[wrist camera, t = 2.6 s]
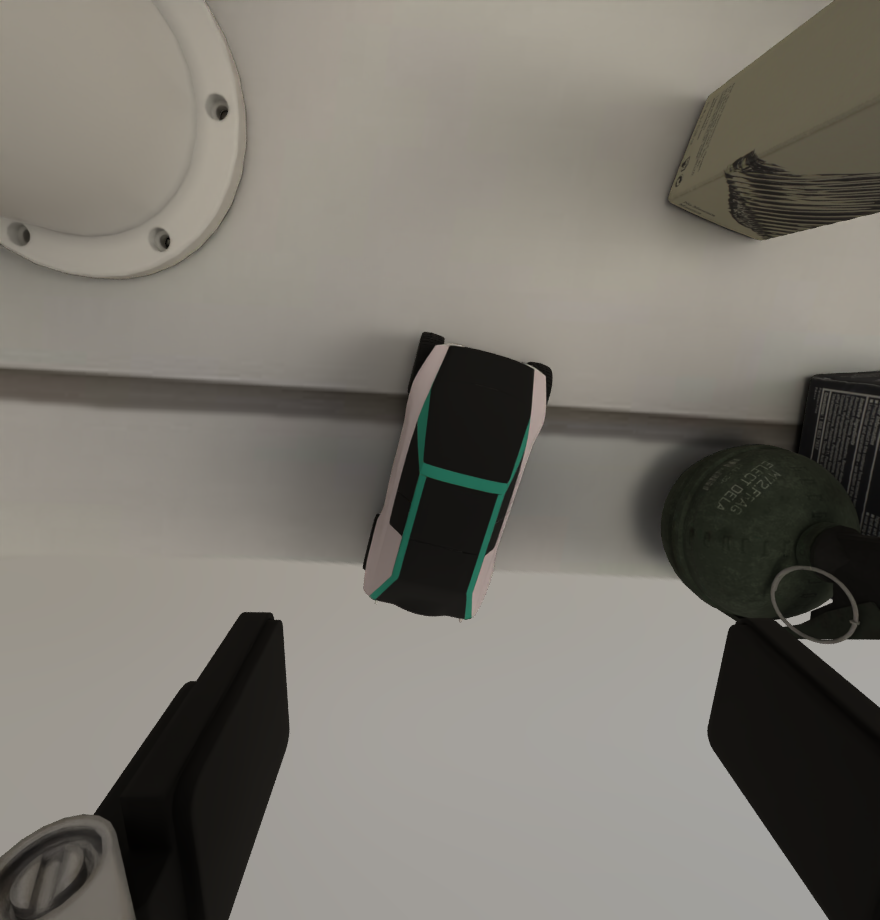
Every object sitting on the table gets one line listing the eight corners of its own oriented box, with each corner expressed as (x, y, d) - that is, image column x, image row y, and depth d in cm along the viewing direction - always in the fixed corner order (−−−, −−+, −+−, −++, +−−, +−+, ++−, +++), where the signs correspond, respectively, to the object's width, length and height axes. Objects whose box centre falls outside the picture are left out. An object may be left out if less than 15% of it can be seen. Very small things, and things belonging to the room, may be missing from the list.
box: (660, 203, 21) (1013, 27, 8) (706, 92, 20) (1188, -298, 7) (765, 246, 21) (1234, 139, 9) (814, 140, 20) (1426, -144, 8)
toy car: (364, 558, 25) (349, 619, 20) (422, 329, 22) (423, 331, 17) (471, 583, 26) (484, 648, 20) (543, 363, 23) (579, 375, 17)
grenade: (637, 441, 24) (817, 452, 14) (778, 442, 25) (1039, 453, 15) (631, 601, 25) (799, 720, 15) (768, 596, 25) (1014, 705, 16)
